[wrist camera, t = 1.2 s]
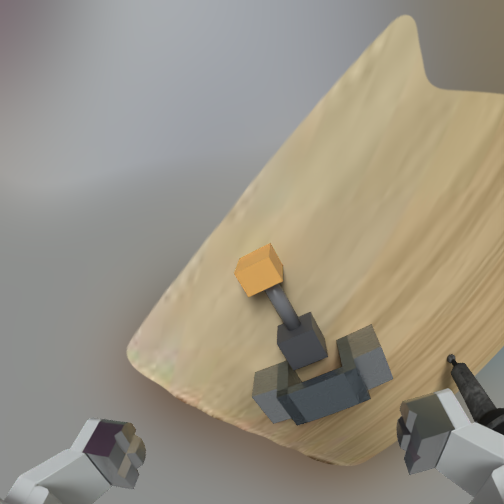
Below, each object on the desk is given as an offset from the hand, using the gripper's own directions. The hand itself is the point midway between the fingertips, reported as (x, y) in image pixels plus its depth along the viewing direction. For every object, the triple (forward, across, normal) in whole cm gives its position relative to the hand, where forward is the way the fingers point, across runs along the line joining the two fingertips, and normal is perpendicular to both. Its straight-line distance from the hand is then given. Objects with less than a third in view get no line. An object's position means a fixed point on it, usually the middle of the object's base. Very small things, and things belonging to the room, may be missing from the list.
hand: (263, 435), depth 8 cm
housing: (+29, -4, +20) cm, 35 cm away
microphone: (+28, -24, +23) cm, 44 cm away
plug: (+29, 0, +10) cm, 30 cm away
